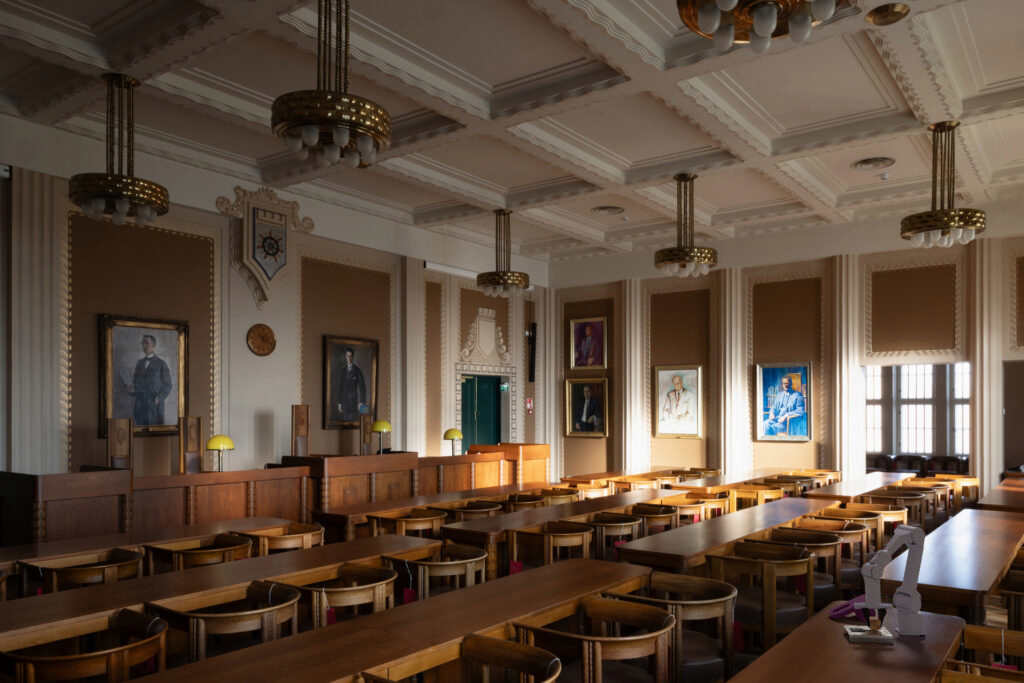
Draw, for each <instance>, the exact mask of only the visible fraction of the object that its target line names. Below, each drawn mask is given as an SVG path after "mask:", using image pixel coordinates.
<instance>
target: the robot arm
mask: <svg viewBox="0 0 1024 683" xmlns="http://www.w3.org/2000/svg"><path fill="white" fill-rule="evenodd" d="M893 534H894V535H893V536H892V538H890V540H889V542H888V543H887V544H886V546H885V547H884V549H879V550H877V551H876V554H874V556H873V557H872V558H871V559H870V560H869V561H868V562H866V563H864V564H863V565H862V566H861V569H860V573H861V575H862V577H863V581H864V591H865V593H864V595H865V597H866V602H865V603H854V608H855V609H861V610H862V612H863V614H864V617H865V619H866V622H865V623H866V626H868V627H870V612H869V610H868V609H875V610H876V611H877V617H878V618H879V619H880V622H881V628H882V627H883V624H884V619H885V617H886V615H887V613H888V612H887V611H888V610H890V611H894V606H895V607H896V608H895V609H896V610H897V621H898V627H895V630H896V631H897V632H898V634H900V635H902V636H920V635H925V636H926V633H925V617H924V613H923V612H922V611H920V610H921V608H922V601H921V600H922V596H921V593H919V591H918V590H917V587H918V583H919V577H920V573H921V572H920V570H921V566H922V565H921V564H922V561H923V555H924V550H925V546H924V545H925V539H926V533H925V531H924V530H923V529H922V528H921V527H917V526H911V525H906V524H904V523H901V524H898V525H897V526H896V528H895V529H894V530H893ZM904 544H905V545H906V547H907V549H908V551H907V557H906V561H905V566H904V572H903V577H902V583H901V585H900V586H899V587H897V588H896V589H895V593H894V595H892V596H893V597H892V603H893V604H892V603H884V602H882V600H881V599H882V596H881V595H882V594H881V578H882V577H883V576H884V571H885V569H886V567H887V566H888V565H889V564H890V562H891V561H892V556H893V554H894V553H895V552H897V550H899V548H901V546H903V545H904Z"/></svg>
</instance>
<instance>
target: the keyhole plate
mask: <svg viewBox="0 0 1024 683" xmlns="http://www.w3.org/2000/svg"><path fill="white" fill-rule="evenodd" d="M843 633H844V634H845V633H848V634H847V635H849V642H850V641H851V642H850V643H861V642H876V643H875V644H889V643H893V644H894V636H893V635H892V633H890V631H889V630H888V629H887V628H886V627H885V626H882V628H881V630H877V632H872V630H870V628H869V627H868V626H867V625H845V624H844V625H843ZM878 642H879V643H878Z"/></svg>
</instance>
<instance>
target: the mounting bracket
mask: <svg viewBox="0 0 1024 683" xmlns="http://www.w3.org/2000/svg"><path fill="white" fill-rule="evenodd" d="M865 602H866V597H865V593H864V594H861V595H858V596H857V597H854V598H852V599H850V600H847V601H846V602H843V603H841V604H838V605H836V606H834V607H832V608H831V609H830V610H829V611H828V614H829V616H830V618H831V619H833V618H834V619H833V620H837V619H841V618H844V617H846V616H849V615H850V614H853V613H854V614H855V615H856V617H857V618H858V619H859V620H860V621H861V622H864V621H866V619H865V617H864V614H863V612H862V610H861V609H855V608H854V603H865ZM868 610H869V612H870V617H877V616H876V614H877V613H876V609H868Z"/></svg>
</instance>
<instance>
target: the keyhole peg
mask: <svg viewBox="0 0 1024 683" xmlns="http://www.w3.org/2000/svg"><path fill="white" fill-rule="evenodd" d="M869 628H870V630H872V632H877V630H881V622H880V619H879V618H878V616H875V617H870V627H869Z"/></svg>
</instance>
